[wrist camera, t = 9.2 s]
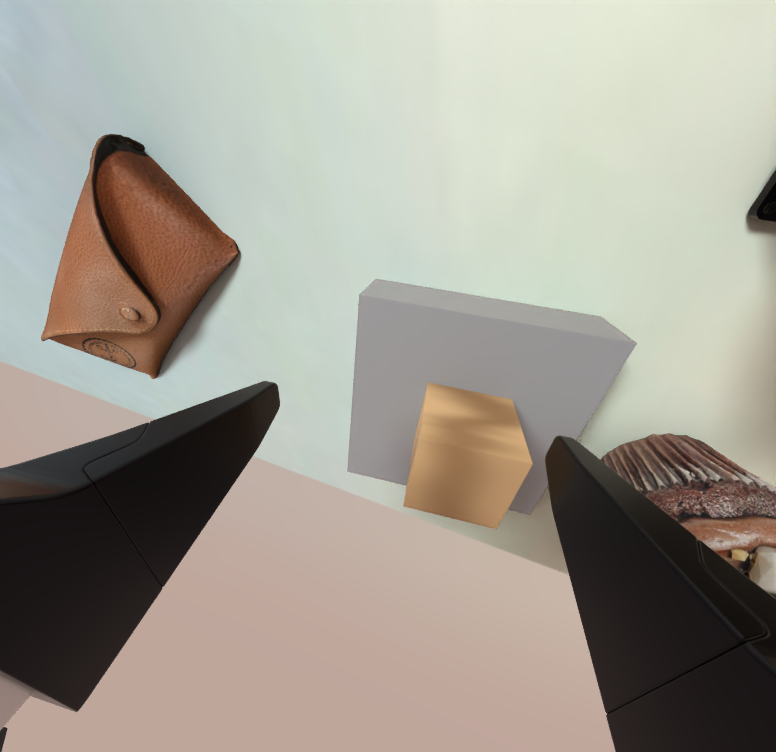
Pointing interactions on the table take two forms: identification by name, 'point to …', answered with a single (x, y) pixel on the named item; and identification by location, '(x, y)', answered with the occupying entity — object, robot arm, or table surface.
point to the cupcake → (706, 499)
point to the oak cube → (466, 456)
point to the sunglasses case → (133, 260)
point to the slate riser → (474, 371)
